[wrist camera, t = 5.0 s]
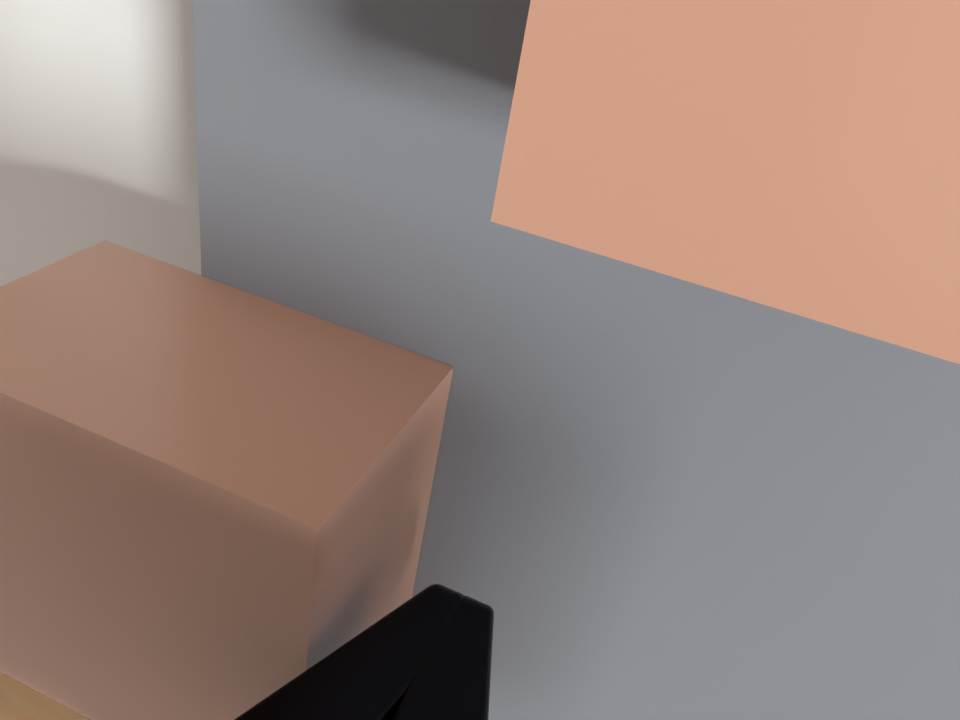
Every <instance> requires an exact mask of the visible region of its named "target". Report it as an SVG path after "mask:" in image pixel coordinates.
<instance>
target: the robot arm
mask: <svg viewBox="0 0 960 720" xmlns="http://www.w3.org/2000/svg"><path fill="white" fill-rule="evenodd" d="M493 624H494V611H493V608H492V607H491V606H489V605H487V604H485V603H482V602H480V601H478V600H475V599H473V598H471V597H468V596H464V595H463V594H461V593H459V592H457V591H454V590H452V589H450V588H447V587H445V586H443V585H440V584H432V585H430V586H428V587H427V588H425V589H424V590H422V591H421V592H419V593H418V594H417V595H415V596H414V597H412V598H411V599H409V600H408V601H406V602H405V603H403V604H402V605H400V606H399V607H398V608H396V609H395V610H393V611H392V612H390V613H389V614H387V615H386V616H384V617H383V618H382V619H380V620H379V621H377V622H376V623H374V624H373V625H371V626H370V627H368V628H367V629H365V630H364V631H363V632H361V633H360V634H358V635H357V636H355V637H354V638H352V639H351V640H349V641H348V642H347V643H345V644H344V645H342V646H341V647H339V648H338V649H336V650H335V651H333V652H332V653H330V654H329V655H328V656H326V657H325V658H323V659H322V660H320V661H319V662H317V663H316V664H314V665H313V666H311V667H310V668H309V669H307V670H306V671H304V672H303V673H301V674H300V675H298V676H297V677H295V678H294V679H293V680H291V681H290V682H288V683H287V684H285V685H284V686H282V687H281V688H279V689H278V690H276V691H275V692H274V693H272V694H271V695H269V696H268V697H266V698H265V699H263V700H262V701H260V702H259V703H258V704H256V705H255V706H253V707H252V708H250V709H249V710H247V711H246V712H244V713H243V714H241V715H240V716H239V717H237V718H236V719H234V720H488V717H489V698H490V679H491V661H492V642H493Z"/></svg>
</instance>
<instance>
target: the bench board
mask: <svg viewBox="0 0 960 720" xmlns="http://www.w3.org/2000/svg"><path fill="white" fill-rule="evenodd" d="M530 1H531V0H193V23H194V55H195V87H196V118H197V150H198V182H199V214H200V246H201V276H203V277H206V278H209V279H212V280H214V281H217V282H220V283H223V284H225V285H228V286H231V287H234V288H236V289H239V290H242V291H245V292H248V293H250V294H253V295H256V296H259V297H261V298H264V299H267V300H270V301H273V302H275V303H278V304H281V305H284V306H286V307H289V308H292V309H295V310H298V311H300V312H303V313H306V314H309V315H311V316H314V317H317V318H320V319H322V320H325V321H328V322H331V323H334V324H336V325H339V326H342V327H345V328H347V329H350V330H353V331H356V332H358V333H361V334H364V335H367V336H369V337H372V338H375V339H378V340H380V341H383V342H386V343H389V344H391V345H394V346H397V347H400V348H402V349H405V350H408V351H411V352H413V353H416V354H419V355H422V356H424V357H427V358H430V359H433V360H435V361H438V362H441V363H444V364H446V365H449V366H452V367H454V368H453V373H452V379H451V384H450V390H449V395H448V401H447V407H446V412H445V418H444V423H443V429H442V434H441V440H440V445H439V451H438V456H437V462H436V467H435V473H434V478H433V484H432V489H431V495H430V500H429V506H428V511H427V517H426V522H425V528H424V533H423V539H422V544H421V550H420V555H419V561H418V566H417V572H416V577H415V583H414V588H413V594H412V597H414V596H415V595H417V594H418V593H419V592H421V591H422V590H424V589H425V588H427V587H428V586H430V585H432V584H440V585H443V586H445V587H447V588H450V589H452V590H454V591H457V592H459V593H461V594H463V595H464V596H468V597H471V598H473V599H475V600H478V601H480V602H482V603H485V604H487V605H489V606H491V607H492V608H493V611H494V624H493V642H492V661H491V679H490V698H489V717H488V720H960V364H957V363H954V362H950V361H947V360H944V359H940V358H937V357H934V356H931V355H927V354H924V353H921V352H918V351H914V350H911V349H908V348H904V347H901V346H898V345H895V344H891V343H888V342H885V341H881V340H878V339H875V338H872V337H868V336H865V335H862V334H858V333H855V332H852V331H849V330H845V329H842V328H839V327H836V326H832V325H829V324H826V323H822V322H819V321H816V320H813V319H809V318H806V317H803V316H799V315H796V314H793V313H790V312H786V311H783V310H780V309H777V308H773V307H770V306H767V305H763V304H760V303H757V302H754V301H750V300H747V299H744V298H740V297H737V296H734V295H731V294H727V293H724V292H721V291H717V290H714V289H711V288H708V287H704V286H701V285H698V284H695V283H691V282H688V281H685V280H681V279H678V278H675V277H672V276H668V275H665V274H662V273H658V272H655V271H652V270H649V269H645V268H642V267H639V266H635V265H632V264H629V263H626V262H622V261H619V260H616V259H613V258H609V257H606V256H603V255H599V254H596V253H593V252H590V251H586V250H583V249H580V248H576V247H573V246H570V245H567V244H563V243H560V242H557V241H554V240H550V239H547V238H544V237H540V236H537V235H534V234H531V233H527V232H524V231H521V230H517V229H514V228H511V227H508V226H504V225H501V224H498V223H494V222H491V217H492V211H493V205H494V200H495V194H496V189H497V183H498V178H499V172H500V167H501V161H502V156H503V150H504V145H505V139H506V134H507V128H508V123H509V117H510V112H511V106H512V101H513V95H514V90H515V84H516V79H517V73H518V67H519V62H520V56H521V51H522V45H523V40H524V34H525V29H526V23H527V18H528V12H529V7H530Z"/></svg>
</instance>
